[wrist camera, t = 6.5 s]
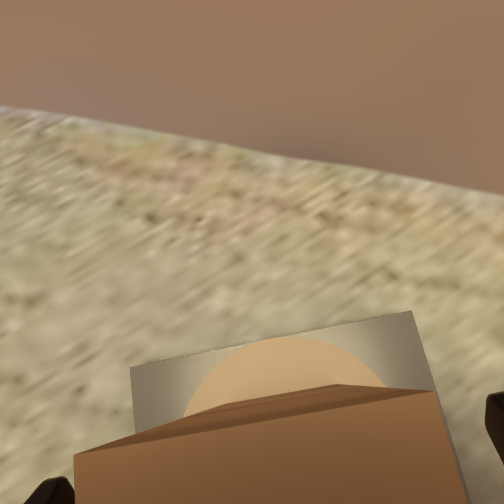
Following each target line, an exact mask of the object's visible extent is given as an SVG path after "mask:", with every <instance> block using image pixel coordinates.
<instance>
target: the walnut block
mask: <svg viewBox="0 0 504 504" xmlns="http://www.w3.org/2000/svg"><path fill="white" fill-rule="evenodd" d="M74 484H75V504H467V501H466V497H465V494H464V490H463V487H462V484H461V480H460V477H459V473H458V470H457V466H456V463H455V460H454V456H453V453H452V449H451V446H450V442H449V439H448V436H447V432H446V429H445V425H444V422H443V419H442V415H441V412H440V408H439V405H438V401H437V398H436V395H435V391H427V390H413V389H400V388H386V387H372V386H358V385H345V384H333V385H327V386H321V387H316V388H310V389H305V390H299V391H294V392H288V393H282V394H277V395H271V396H266V397H260V398H255V399H249V400H243V401H238V402H232V403H227V404H223V405H220V406H217V407H214V408H211V409H208V410H205V411H202V412H199V413H196V414H193V415H190V416H187V417H184V418H181V419H178V420H175V421H172V422H169V423H167V424H164V425H161V426H158V427H155V428H152V429H149V430H146V431H143V432H140V433H137V434H134V435H131V436H128V437H125V438H122V439H119V440H116V441H113V442H110V443H107V444H105V445H102V446H99V447H96V448H93V449H90V450H87V451H84V452H81V453H78V454H75V455H74Z"/></svg>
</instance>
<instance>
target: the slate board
mask: <svg viewBox="0 0 504 504" xmlns="http://www.w3.org/2000/svg"><path fill="white" fill-rule="evenodd" d="M130 376H131V387H132V398H133V409H134V419H135V430H136V434H137V433H140V432H143V431H146V430H149V429H152V428H155V427H158V426H161V425H164V424H167V423H169V422H172V421H175V420H178V419H181V418H184V417H187V416H190V415H193V414H196V413H199V412H202V411H205V410H208V409H211V408H214V407H217V406H220V405H223V404H227V403H232V402H238V401H243V400H249V399H255V398H260V397H266V396H271V395H277V394H282V393H288V392H294V391H299V390H305V389H310V388H316V387H321V386H327V385H333V384H345V385H358V386H372V387H386V388H400V389H413V390H427V391H435V395H436V398H437V401H438V405H439V408H440V412H441V415H442V419H443V422H444V425H445V429H446V432H447V436H448V439H449V442H450V446H451V449H452V453H453V456H454V460H455V463H456V466H457V470H458V473H459V477H460V480H461V484H462V487H463V490H464V494H465V497H466V501H467V504H471V501H470V498H469V495H468V492H467V488H466V485H465V482H464V479H463V475H462V472H461V469H460V466H459V462H458V459H457V456H456V453H455V449H454V446H453V443H452V440H451V437H450V433H449V430H448V427H447V424H446V420H445V417H444V414H443V411H442V407H441V404H440V401H439V398H438V394H437V391H436V388H435V385H434V382H433V378H432V375H431V372H430V369H429V365H428V362H427V359H426V356H425V352H424V349H423V346H422V343H421V340H420V336H419V333H418V330H417V327H416V323H415V320H414V317H413V314H412V311H407V312H402V313H397V314H392V315H387V316H382V317H377V318H372V319H367V320H362V321H357V322H352V323H347V324H342V325H337V326H332V327H327V328H322V329H317V330H312V331H307V332H302V333H297V334H292V335H287V336H282V337H277V338H271V339H266V340H262V341H258V342H253V343H248V344H243V345H238V346H233V347H228V348H223V349H218V350H213V351H208V352H203V353H198V354H193V355H188V356H183V357H178V358H173V359H168V360H163V361H158V362H153V363H148V364H143V365H138V366H133V367H130Z"/></svg>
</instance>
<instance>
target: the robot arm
mask: <svg viewBox="0 0 504 504" xmlns="http://www.w3.org/2000/svg"><path fill="white" fill-rule="evenodd" d="M485 426H486V430H487V432H488V434H489V436H490V438H491V440H492V442H493V444H494V446H495V448H496V450H497V452H498V454H499V456H500V458H501V460H502V462H503V464H504V391H502V392H497V393H492V394H489V395H488V396H487V399H486V411H485ZM24 504H75V490H74V489H73V487H72V486H71V484H70V482H69V481H68V479H67V478H66V477H63V476H60V477H55V478H50V479H46V480H45V481H43V482H42V483H41V484H40V485H39V486H38V487H37V489H36V490H35V491H34V492H33V493H32V495H31V496H30V497H29V498H28V499H27V500H26V502H25V503H24Z"/></svg>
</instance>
